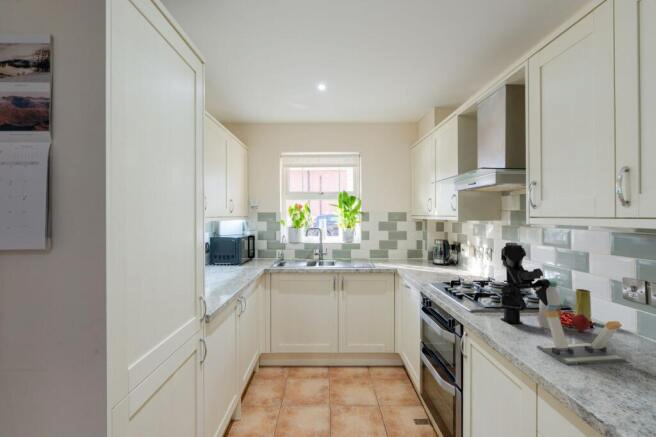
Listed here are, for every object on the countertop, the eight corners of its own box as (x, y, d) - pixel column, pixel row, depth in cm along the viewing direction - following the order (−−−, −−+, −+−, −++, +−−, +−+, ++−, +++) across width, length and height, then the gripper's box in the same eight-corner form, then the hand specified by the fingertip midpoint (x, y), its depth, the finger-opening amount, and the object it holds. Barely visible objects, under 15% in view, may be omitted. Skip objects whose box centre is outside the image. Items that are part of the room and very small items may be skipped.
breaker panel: (536, 347, 118) (536, 341, 118) (589, 344, 120) (590, 338, 120) (566, 364, 105) (567, 357, 105) (625, 361, 107) (625, 354, 107)
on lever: (588, 347, 114) (607, 321, 107) (597, 346, 115) (617, 321, 107) (591, 351, 113) (611, 325, 106) (601, 350, 113) (621, 325, 106)
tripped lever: (556, 351, 112) (544, 312, 117) (566, 351, 113) (554, 311, 118) (560, 351, 111) (548, 311, 116) (569, 351, 111) (557, 311, 116)
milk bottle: (540, 328, 137) (540, 282, 136) (537, 322, 144) (538, 279, 143) (561, 331, 133) (562, 284, 133) (558, 325, 140) (559, 280, 140)
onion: (582, 329, 136) (583, 310, 136) (592, 334, 131) (593, 315, 130) (568, 328, 137) (568, 310, 137) (577, 333, 131) (578, 314, 131)
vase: (577, 322, 144) (578, 291, 144) (571, 318, 150) (572, 288, 149) (593, 324, 142) (594, 292, 142) (586, 319, 148) (587, 289, 148)
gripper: (506, 263, 127) (526, 300, 117) (548, 259, 129) (571, 295, 120) (493, 276, 135) (510, 311, 126) (532, 273, 138) (552, 307, 128)
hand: (536, 306), depth 125 cm, fingers open, 9 cm apart
